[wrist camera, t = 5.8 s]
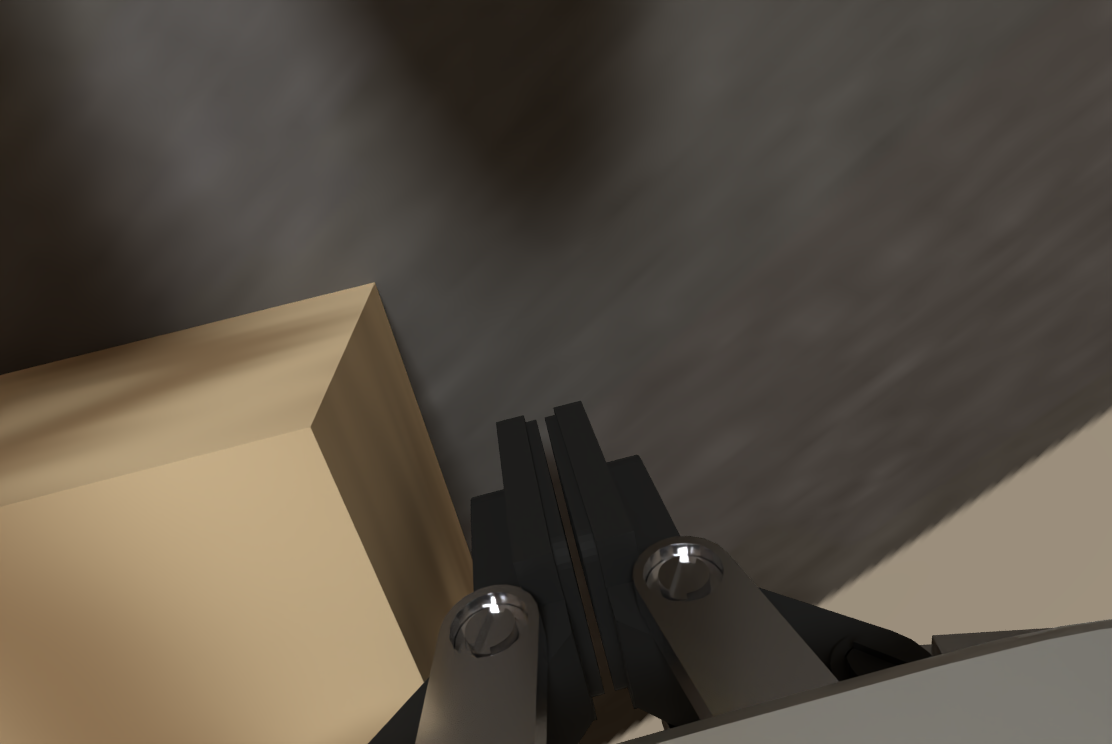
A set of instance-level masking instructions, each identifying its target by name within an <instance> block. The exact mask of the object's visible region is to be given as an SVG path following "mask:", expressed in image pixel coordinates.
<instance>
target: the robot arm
mask: <svg viewBox="0 0 1112 744" xmlns="http://www.w3.org/2000/svg"><path fill="white" fill-rule="evenodd" d="M554 413H555V415H553V416H549V417H545V421H546V425H547V429H548V433H549V437H550V441H551V445H552V449H553V453H554V458H555V462H556V466H557V470H558V474H559V478H560V482H561V486H562V490H563V494H564V498H565V502H566V506H567V510H568V514H569V518H570V522H571V526H572V530H573V534H574V538H575V542H576V546H577V550H578V553H579V557H580V561H581V565H582V568H583V572H584V576H585V580H586V583H587V587H588V591H589V595H590V598H591V602H592V606H593V610H594V613H595V617H596V621H597V625H598V628H599V632H600V636H601V640H602V643H603V647H604V651H605V655H606V658H607V662H608V666H609V670H610V673H611V677H612V681H613V685H614V688H615V691H616V690H620V689H623V688H627V687H628V690H629V693H630V697H631V700H632V704H633V707H634V709H636V708H640V709H642V710H644V711H646V712H648V713H650V714H652V715H654V716H656V717H658V718H660V719H661V720H662V724H663V727H664V731H660V732H657V733H653V734H650V735H646V736H643V737H639V738H635V739H632V740H628V741H625V742H621V743H618V744H1112V620H1103V621H1095V622H1089V623H1081V624H1074V625H1067V626H1060V627H1056V628H1045V629H1029V630H1012V631H997V632H981V633H967V634H949V635H933V636H932V644H931V645H918V644H917V643H916V642H914V641H913V640H912V639H909V638H907V637H905V636H903V635H900V634H898V633H896V632H893V631H891V630H888V629H884V628H881V627H878V626H875V625H872V624H869V623H866V622H863V621H859V620H857V619H854V618H850V617H847V616H844V615H841V614H838V613H835V612H832V611H829V610H826V609H823V608H820V607H817V606H814V605H811V604H808V603H805V602H801V601H798V600H795V599H792V598H789V597H786V596H783V595H780V594H777V593H774V592H771V591H768V590H765V589H761V588H758V587H757V586H756V585H755V584H754V582H753V581H752V580H751V579H750V578H749V577H748V575H747V574H746V573H745V572H744V571H743V570H742V568H741V567H740V566H739V565H738V564H737V563H736V562H735V560H734V559H733V558H732V557H731V556H730V555H729V553H728V552H726V551H725V550H724V549H723V548H722V547H720V546H719V545H718V544H716V543H714V542H712V541H709V540H707V539H705V538H699V537H693V536H680V535H679V533H678V531H677V529H676V527H675V525H674V523H673V521H672V519H671V517H670V515H669V513H668V511H667V509H666V507H665V505H664V503H663V501H662V499H661V497H660V495H659V493H658V491H657V490H656V488H655V486H654V484H653V482H652V480H651V478H650V476H649V474H648V472H647V470H646V468H645V466H644V464H643V462H642V460H641V458H640V457H639V456H638V455H634V456H630V457H626V458H622V459H619V460H615V461H611V462H607V463H606V461H605V458H604V456H603V454H602V451H601V449H600V446H599V444H598V441H597V439H596V436H595V434H594V432H593V429H592V427H591V424H590V422H589V419H588V417H587V414H586V412H585V410H584V407H583V405H582V402H581V401H578V402H574V403H570V404H566V405H562V406H558V407H554ZM496 426H497V435H498V443H499V451H500V460H501V468H502V476H503V485H504V489H503V490H500V491H496V492H492V493H488V494H484V495H480V496H477V497H473V498H471V532H472V562H473V592H472V593H470V594H468V595H466V596H465V597H463V598H462V599H461V600H460V601H459V602H457V603H456V604H455V605H454V606H453V607H452V608H451V610H450V611H449V612H448V613H447V615H446V616H445V617H444V620H443V622H442V625H441V627H440V630H439V634H438V639H437V643H436V648H435V653H434V658H433V662H432V667H431V672H430V676H429V677H428V679H427V680H426V681H425V682H424V683H423V684H422V685H421V686H420V687H419V688H418V689H417V691H416V692H415V693H414V694H413V695H412V696H411V697H410V698H409V699H408V700H407V701H406V703H405V704H404V705H403V706H402V707H401V708H400V709H399V710H398V711H397V712H396V713H395V715H394V716H393V717H392V718H391V719H390V720H389V721H388V722H387V723H386V724H385V725H384V727H383V728H382V729H381V730H380V731H379V732H378V733H377V734H376V735H375V736H374V737H373V739H372V740H371V741H370V742H369V743H368V744H579V742H580V740H581V738H582V737H583V735H584V734H585V732H586V731H587V729H588V728H589V726H590V725H591V723H592V722H593V720H597V717H596V713H595V708H594V704H593V699H592V697H594V696H598V695H602V694H605V693H604V689H603V685H602V681H601V677H600V672H599V668H598V664H597V660H596V656H595V652H594V648H593V644H592V640H591V636H590V632H589V628H588V624H587V620H586V616H585V612H584V608H583V604H582V600H581V596H580V592H579V588H578V584H577V580H576V576H575V572H574V568H573V563H572V559H571V555H570V551H569V547H568V543H567V539H566V535H565V531H564V527H563V524H562V520H561V516H560V512H559V508H558V504H557V500H556V496H555V492H554V488H553V484H552V480H551V476H550V472H549V469H548V465H547V461H546V457H545V453H544V449H543V445H542V441H541V437H540V433H539V429H538V425H537V421H536V420H533V421H529V422H525V418H524V415H523V416H519V417H515V418H511V419H507V420H503V421H500V422H496Z"/></svg>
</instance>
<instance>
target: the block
mask: <svg viewBox="0 0 1112 744" xmlns="http://www.w3.org/2000/svg"><path fill="white" fill-rule="evenodd" d="M472 592H473V562H472V557H471V555H470V552H469V549H468V546H467V543H466V540H465V537H464V535H463V532H462V529H461V526H460V523H459V520H458V518H457V515H456V512H455V509H454V506H453V503H452V501H451V498H450V495H449V492H448V489H447V486H446V483H445V481H444V478H443V475H442V472H441V469H440V466H439V464H438V461H437V458H436V455H435V452H434V449H433V446H432V444H431V441H430V438H429V435H428V432H427V429H426V427H425V424H424V421H423V418H422V415H421V412H420V409H419V407H418V404H417V401H416V398H415V395H414V392H413V390H412V387H411V384H410V381H409V378H408V375H407V373H406V370H405V367H404V364H403V361H402V358H401V355H400V353H399V350H398V347H397V344H396V341H395V338H394V336H393V333H392V330H391V327H390V324H389V321H388V318H387V316H386V313H385V310H384V307H383V304H382V301H381V299H380V296H379V293H378V290H377V287H376V284H375V282H374V283H370V284H366V285H362V286H358V287H354V288H350V289H346V290H342V291H338V292H334V293H330V294H326V295H322V296H318V297H314V298H310V299H306V300H302V301H298V302H294V303H290V304H286V305H282V306H278V307H273V308H269V309H265V310H261V311H257V312H253V313H249V314H245V315H241V316H237V317H233V318H229V319H225V320H221V321H217V322H213V323H209V324H205V325H201V326H197V327H193V328H189V329H185V330H181V331H177V332H173V333H169V334H165V335H160V336H156V337H152V338H148V339H144V340H140V341H136V342H132V343H128V344H124V345H120V346H116V347H112V348H108V349H104V350H100V351H96V352H92V353H88V354H84V355H80V356H76V357H72V358H68V359H64V360H60V361H56V362H52V363H48V364H44V365H39V366H35V367H31V368H27V369H23V370H19V371H15V372H11V373H7V374H3V375H0V744H368V743H369V742H370V741H371V740H372V739H373V737H374V736H375V735H376V734H377V733H378V732H379V731H380V730H381V729H382V728H383V727H384V725H385V724H386V723H387V722H388V721H389V720H390V719H391V718H392V717H393V716H394V715H395V713H396V712H397V711H398V710H399V709H400V708H401V707H402V706H403V705H404V704H405V703H406V701H407V700H408V699H409V698H410V697H411V696H412V695H413V694H414V693H415V692H416V691H417V689H418V688H419V687H420V686H421V685H422V684H423V683H424V682H425V681H426V680H427V679H428V677H429V676H430V672H431V667H432V662H433V658H434V653H435V648H436V643H437V639H438V634H439V630H440V627H441V625H442V622H443V620H444V617H445V616H446V615H447V613H448V612H449V611H450V610H451V608H452V607H453V606H454V605H455V604H456V603H457V602H459V601H460V600H461V599H462V598H463V597H465V596H466V595H468V594H470V593H472Z"/></svg>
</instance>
